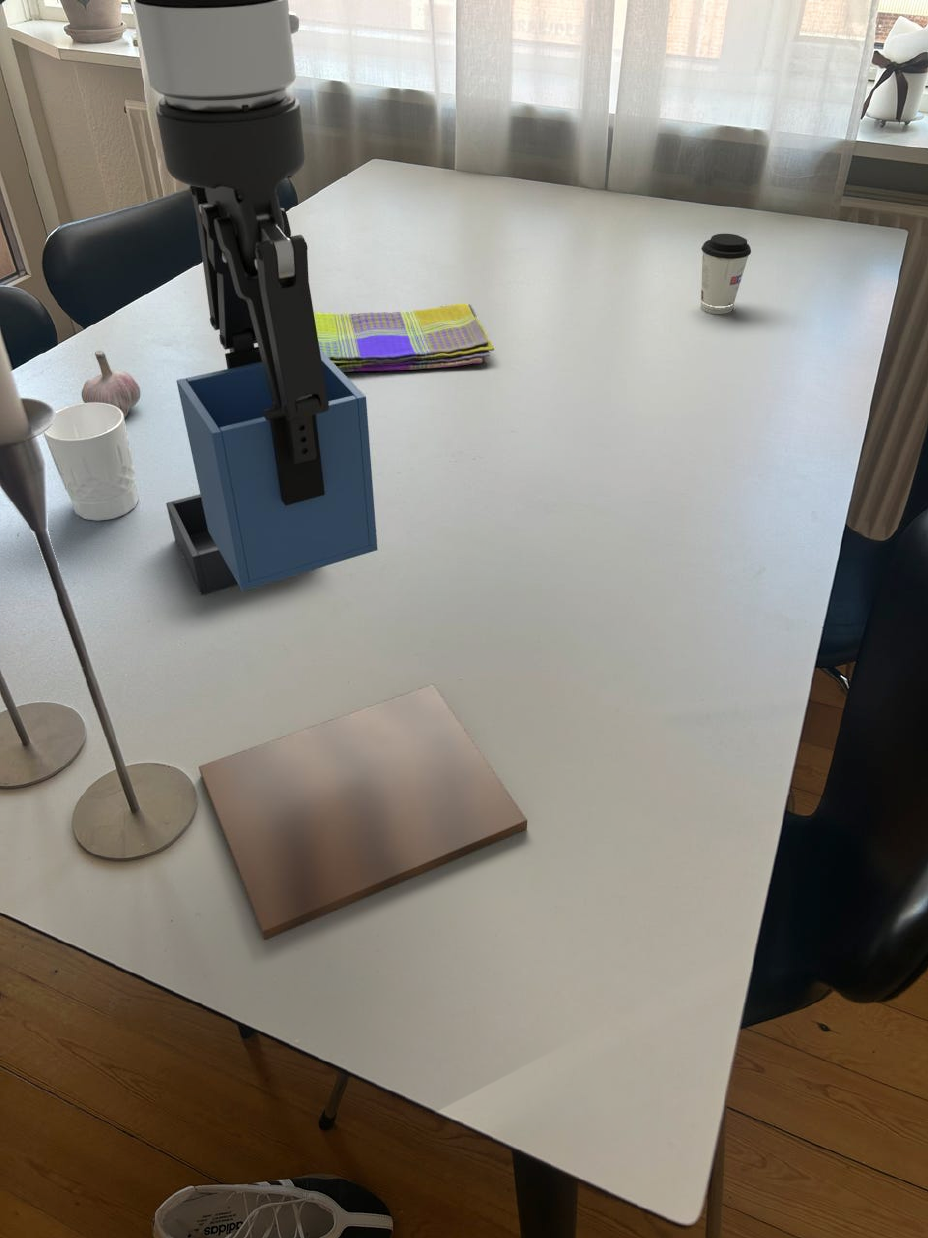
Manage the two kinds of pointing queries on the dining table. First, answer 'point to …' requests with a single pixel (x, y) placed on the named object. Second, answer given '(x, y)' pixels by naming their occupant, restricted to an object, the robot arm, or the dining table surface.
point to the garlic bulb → (111, 387)
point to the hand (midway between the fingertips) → (280, 466)
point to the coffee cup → (722, 271)
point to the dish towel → (403, 339)
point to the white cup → (94, 460)
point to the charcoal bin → (198, 545)
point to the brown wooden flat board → (355, 807)
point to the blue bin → (248, 479)
